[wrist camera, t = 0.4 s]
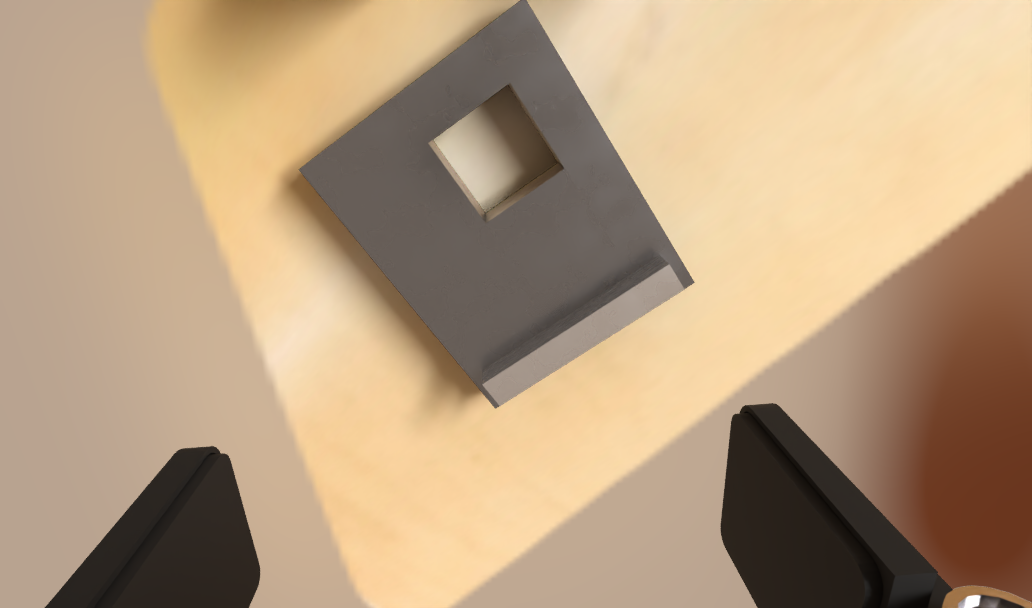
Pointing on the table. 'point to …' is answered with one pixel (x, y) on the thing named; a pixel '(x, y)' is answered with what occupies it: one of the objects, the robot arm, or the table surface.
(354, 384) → the table surface
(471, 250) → the plate
